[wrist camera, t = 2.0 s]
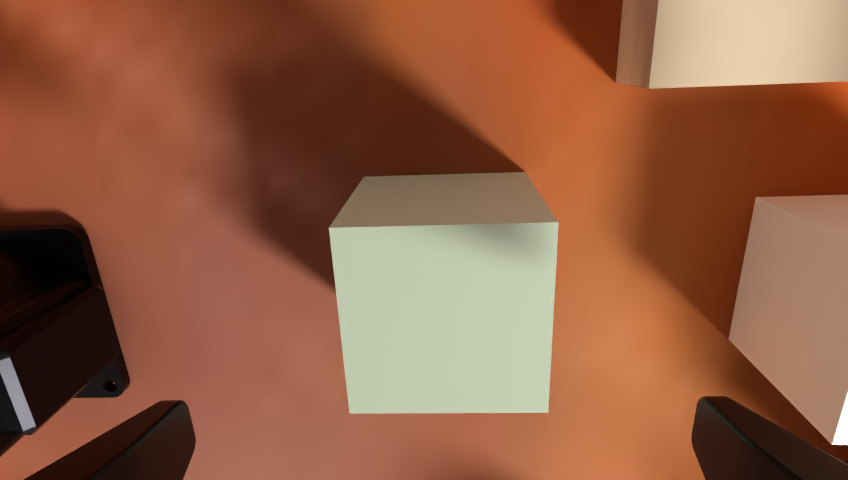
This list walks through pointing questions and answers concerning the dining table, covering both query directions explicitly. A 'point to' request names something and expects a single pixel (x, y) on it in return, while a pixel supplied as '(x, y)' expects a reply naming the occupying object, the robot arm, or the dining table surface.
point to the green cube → (446, 293)
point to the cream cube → (798, 305)
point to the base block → (732, 42)
